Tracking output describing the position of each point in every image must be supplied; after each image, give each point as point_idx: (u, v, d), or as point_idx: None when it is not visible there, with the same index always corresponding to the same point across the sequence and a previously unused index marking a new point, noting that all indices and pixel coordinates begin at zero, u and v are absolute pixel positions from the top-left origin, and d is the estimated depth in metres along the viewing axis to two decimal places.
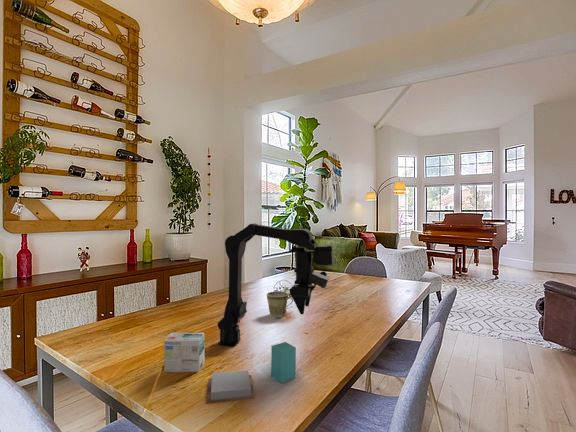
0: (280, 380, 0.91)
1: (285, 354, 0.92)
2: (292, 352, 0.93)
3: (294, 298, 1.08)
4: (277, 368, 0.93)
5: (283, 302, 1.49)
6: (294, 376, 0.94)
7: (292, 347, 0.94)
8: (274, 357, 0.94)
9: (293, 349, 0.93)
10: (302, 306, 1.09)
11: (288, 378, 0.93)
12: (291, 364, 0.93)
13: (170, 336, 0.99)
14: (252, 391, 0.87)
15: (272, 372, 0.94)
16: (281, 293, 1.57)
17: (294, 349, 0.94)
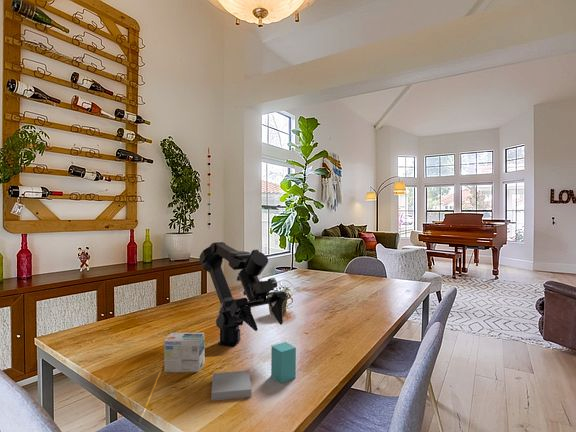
0: (280, 380, 0.91)
1: (285, 354, 0.92)
2: (292, 352, 0.93)
3: (242, 318, 1.01)
4: (277, 368, 0.93)
5: None
6: (294, 376, 0.94)
7: (292, 347, 0.94)
8: (274, 357, 0.94)
9: (293, 349, 0.93)
10: (250, 321, 0.98)
11: (288, 378, 0.93)
12: (291, 364, 0.93)
13: (170, 336, 0.99)
14: None
15: (272, 372, 0.94)
16: None
17: (294, 349, 0.94)
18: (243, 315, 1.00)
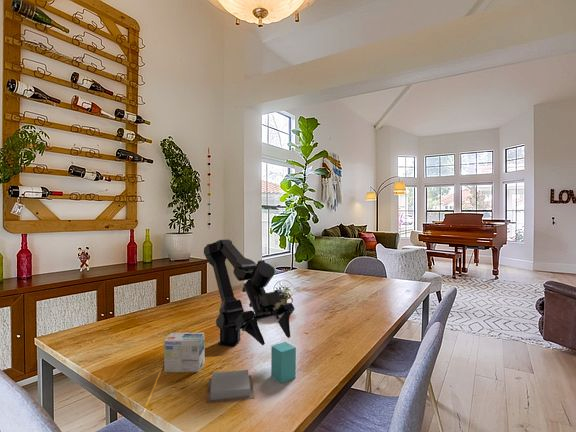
0: (280, 380, 0.91)
1: (285, 354, 0.92)
2: (292, 352, 0.93)
3: (248, 331, 0.97)
4: (277, 368, 0.93)
5: (283, 302, 1.49)
6: (294, 376, 0.94)
7: (292, 347, 0.94)
8: (274, 357, 0.94)
9: (293, 349, 0.93)
10: (257, 335, 0.95)
11: (288, 378, 0.93)
12: (291, 364, 0.93)
13: (170, 336, 0.99)
14: (252, 391, 0.87)
15: (272, 372, 0.94)
16: None
17: (294, 349, 0.94)
18: (249, 328, 0.97)
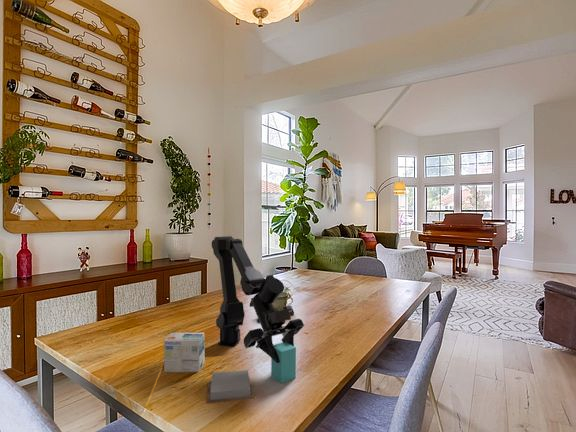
0: (280, 380, 0.91)
1: (285, 354, 0.92)
2: (292, 352, 0.93)
3: (262, 348, 0.95)
4: (277, 368, 0.93)
5: (283, 302, 1.49)
6: (294, 376, 0.94)
7: (292, 347, 0.94)
8: None
9: (293, 349, 0.93)
10: (272, 353, 0.92)
11: (288, 378, 0.93)
12: (291, 364, 0.93)
13: (170, 336, 0.99)
14: None
15: (272, 372, 0.94)
16: (281, 293, 1.57)
17: (294, 349, 0.94)
18: (264, 345, 0.95)
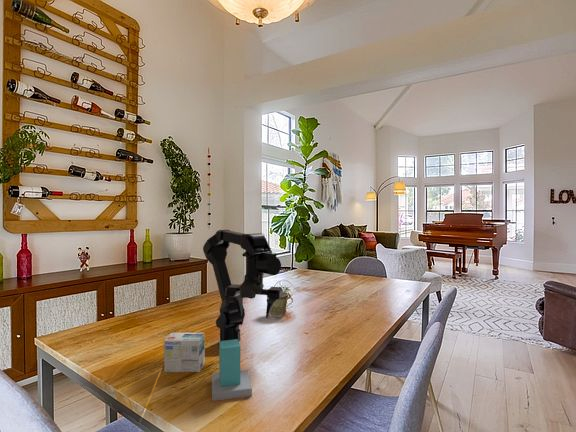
0: (220, 379, 0.85)
1: (226, 351, 0.85)
2: (236, 351, 0.86)
3: None
4: (220, 365, 0.87)
5: (283, 302, 1.49)
6: (238, 377, 0.87)
7: (237, 345, 0.87)
8: (219, 353, 0.88)
9: (237, 347, 0.86)
10: None
11: (231, 378, 0.86)
12: (234, 364, 0.86)
13: (170, 336, 0.99)
14: None
15: (219, 369, 0.89)
16: None
17: (238, 348, 0.86)
18: None
